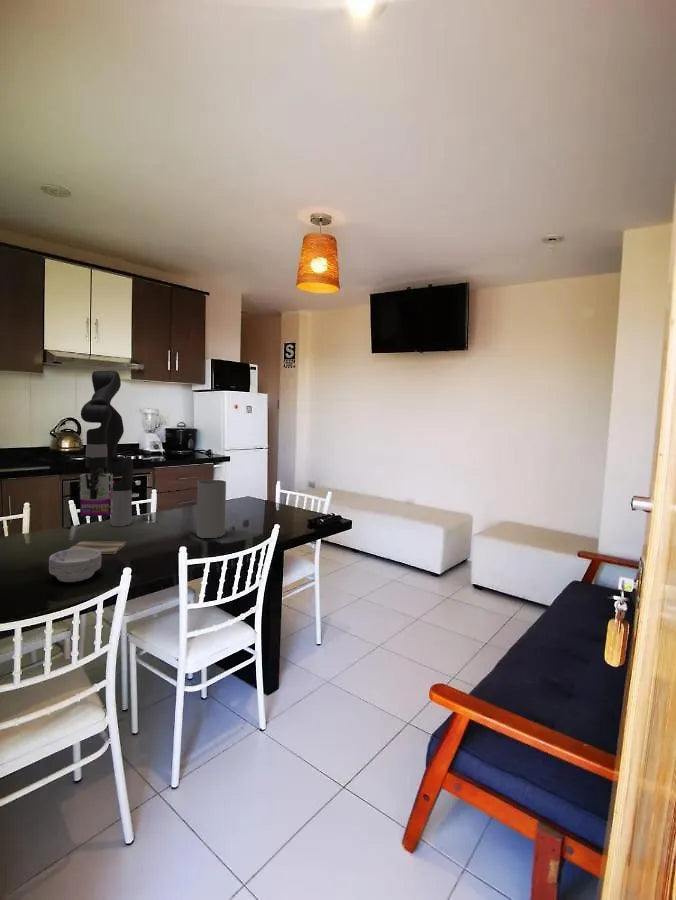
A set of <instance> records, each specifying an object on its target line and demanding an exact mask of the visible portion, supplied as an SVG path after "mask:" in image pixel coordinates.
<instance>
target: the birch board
mask: <svg viewBox="0 0 676 900" xmlns="http://www.w3.org/2000/svg"><path fill="white" fill-rule="evenodd" d="M127 544H128V543H127V541H120V540H119V541H115V540H113V541H107V540H106V541H104V540H103V541H102V540H101V541H100V540H99V541H98V540H97V541H95V540H93V541H92V540H82V541H79V542H78V543H76V544H74V545H73V546H71V547H69V548H68V549H67V550H69V549H78V548H89V549H95V550H98V551H100V552H101V554H114V555H115V554H117V551H118V552H119V551H120V550H121V549H123V548H124V547H125V546H126V545H127ZM122 547H123V548H122Z"/></svg>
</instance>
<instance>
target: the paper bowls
mask: <svg viewBox="0 0 676 900" xmlns="http://www.w3.org/2000/svg"><path fill="white" fill-rule="evenodd" d="M68 549H69V548H68ZM68 549H65V550H59V551H57V552H55V553H53V554H51V555H50V556H49V557H48V572H49V574H50V575H52V576H55V577H56V578H57V580H58V581H60V582H64V583H76V582H77V581H78V582H82V581H85V579H86V580H88V579H89V578H92V576H93V575H94V574H95V572H96V571H98V570H99V569H101V567H102V555H101V552H100V551H98V550H95V549H89V548H78V549H69V550H68ZM78 582H77V583H78Z"/></svg>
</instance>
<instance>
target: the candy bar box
mask: <svg viewBox="0 0 676 900" xmlns="http://www.w3.org/2000/svg"><path fill="white" fill-rule="evenodd" d="M86 474H87V473H82V474H80V475H79V516H80V517H99V516H101V517H105V516H111V514H113V483H114V480H113V479H114V476H113V474H109V473H107V474H101V475H100V476H99V484H98V485H97V489H96V490H97V499H90V490H89V489H87V483H86ZM97 476H98V475H97ZM96 481H97V480H94V482H96ZM89 485H90V483H89Z"/></svg>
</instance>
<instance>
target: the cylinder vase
mask: <svg viewBox="0 0 676 900" xmlns="http://www.w3.org/2000/svg"><path fill="white" fill-rule="evenodd" d="M226 490H227V481H226V480H221V479H202V480H198V481H197V490H196V491H197V493H196V494H197V495H196V496H197V497H196V536H197V537H198V538H201V539H204V538H215V539H219V538H218V537H220V538H222V537H224V536H225V534H226V502H227V501H226V499H227V498H226V497H227V496H226V493H227V492H226ZM223 535H224V536H223ZM221 536H222V537H221Z"/></svg>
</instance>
